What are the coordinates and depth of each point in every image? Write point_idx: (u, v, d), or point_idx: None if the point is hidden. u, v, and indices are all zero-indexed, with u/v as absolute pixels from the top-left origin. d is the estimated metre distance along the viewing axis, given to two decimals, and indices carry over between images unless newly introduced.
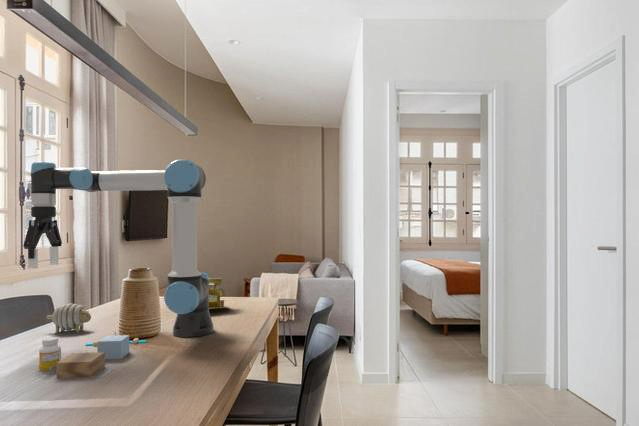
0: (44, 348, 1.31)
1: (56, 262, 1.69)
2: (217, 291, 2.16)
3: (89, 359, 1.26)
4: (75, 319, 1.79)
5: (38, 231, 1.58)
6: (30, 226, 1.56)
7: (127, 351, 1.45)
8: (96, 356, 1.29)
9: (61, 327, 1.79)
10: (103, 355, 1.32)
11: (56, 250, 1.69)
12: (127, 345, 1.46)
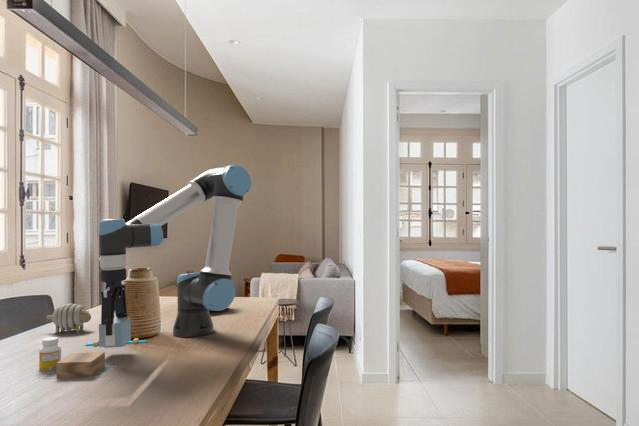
0: (44, 348, 1.31)
1: None
2: None
3: (89, 359, 1.26)
4: (75, 319, 1.79)
5: (111, 301, 1.41)
6: (103, 299, 1.37)
7: (128, 333, 1.46)
8: (96, 356, 1.29)
9: (61, 327, 1.79)
10: (103, 355, 1.32)
11: None
12: (129, 328, 1.46)
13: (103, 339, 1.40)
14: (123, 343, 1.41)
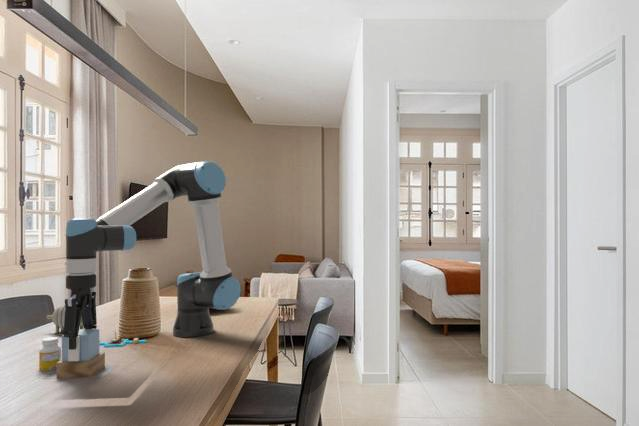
0: (44, 348, 1.31)
1: None
2: None
3: None
4: None
5: (77, 310, 1.25)
6: (67, 308, 1.22)
7: (96, 346, 1.30)
8: (96, 356, 1.29)
9: (61, 327, 1.79)
10: (103, 355, 1.32)
11: None
12: (97, 340, 1.31)
13: (66, 353, 1.25)
14: (89, 357, 1.25)
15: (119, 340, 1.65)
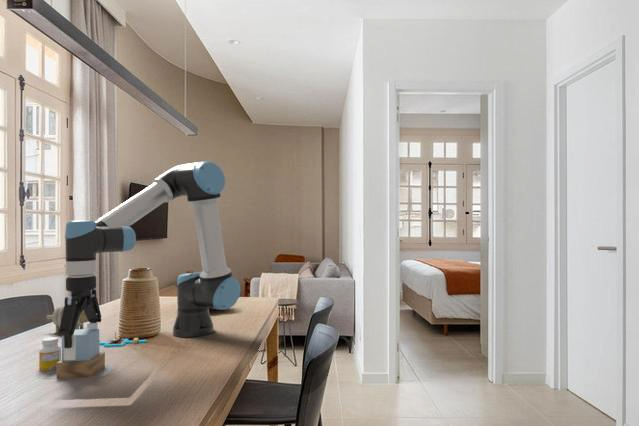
0: (44, 348, 1.31)
1: None
2: None
3: None
4: None
5: (76, 310, 1.24)
6: (66, 306, 1.21)
7: (96, 346, 1.30)
8: (96, 356, 1.29)
9: None
10: (103, 355, 1.32)
11: (95, 328, 1.35)
12: (97, 340, 1.31)
13: None
14: (89, 357, 1.25)
15: (119, 340, 1.65)
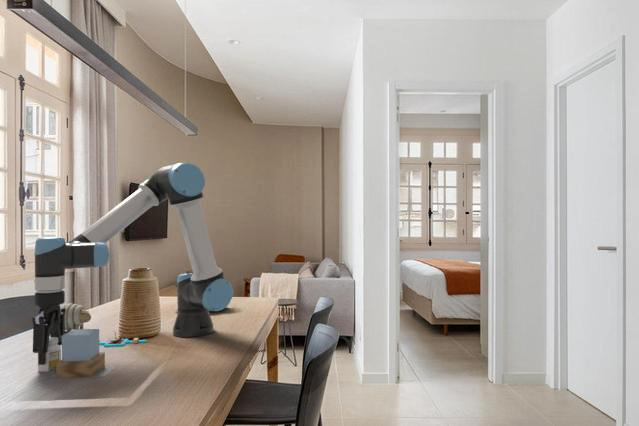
0: None
1: None
2: None
3: None
4: (75, 319, 1.79)
5: (45, 327, 1.30)
6: (35, 325, 1.27)
7: (96, 346, 1.30)
8: (96, 356, 1.29)
9: None
10: (103, 355, 1.32)
11: None
12: (97, 340, 1.31)
13: (66, 353, 1.25)
14: (89, 357, 1.25)
15: (119, 340, 1.65)
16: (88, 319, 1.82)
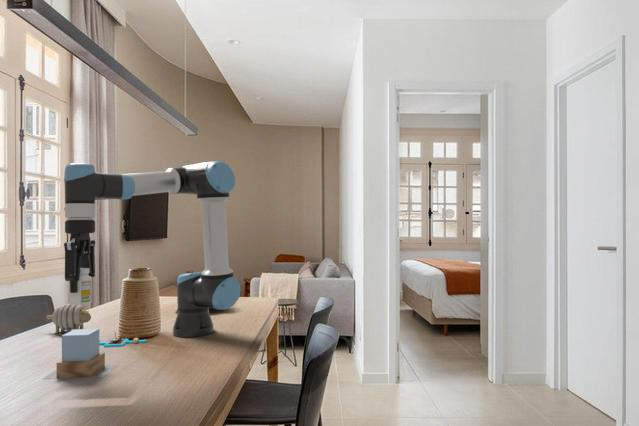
0: None
1: None
2: None
3: None
4: (75, 319, 1.79)
5: (77, 255, 1.26)
6: (67, 251, 1.23)
7: (96, 346, 1.30)
8: (96, 356, 1.29)
9: (61, 327, 1.79)
10: (103, 355, 1.32)
11: None
12: (97, 340, 1.31)
13: (66, 353, 1.25)
14: (89, 357, 1.25)
15: (119, 340, 1.65)
16: (88, 319, 1.82)
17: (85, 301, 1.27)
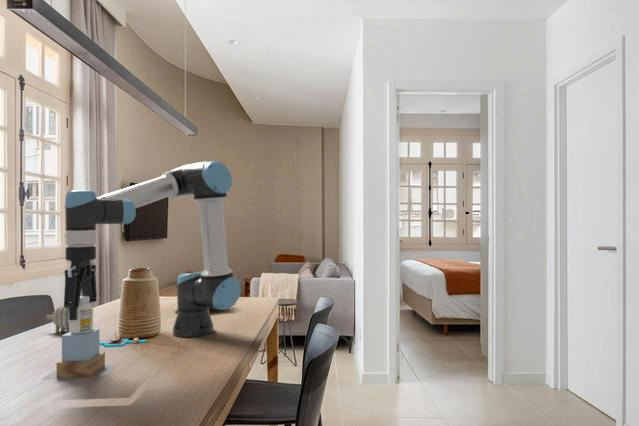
0: None
1: None
2: None
3: None
4: None
5: (77, 282, 1.25)
6: (67, 278, 1.22)
7: (96, 346, 1.30)
8: (96, 356, 1.29)
9: (61, 327, 1.79)
10: (103, 355, 1.32)
11: None
12: (97, 340, 1.31)
13: (66, 353, 1.25)
14: (89, 357, 1.25)
15: (119, 340, 1.65)
16: None
17: (86, 330, 1.27)
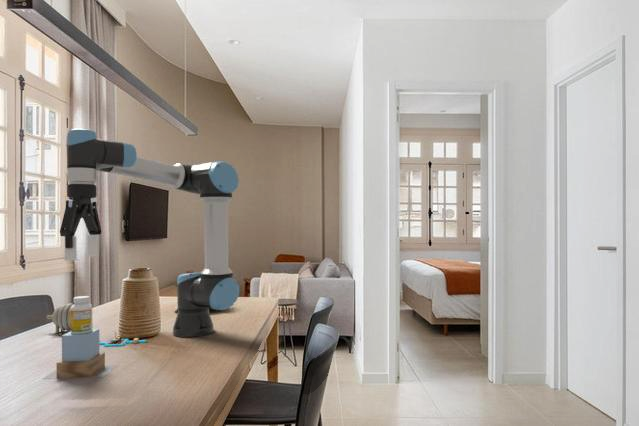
0: (76, 306, 1.26)
1: (95, 254, 1.38)
2: None
3: None
4: None
5: (76, 214, 1.28)
6: (67, 208, 1.25)
7: (96, 346, 1.30)
8: (96, 356, 1.29)
9: (61, 327, 1.79)
10: (103, 355, 1.32)
11: (95, 239, 1.38)
12: (97, 340, 1.31)
13: (66, 353, 1.25)
14: (89, 357, 1.25)
15: (119, 340, 1.65)
16: None
17: (86, 330, 1.27)
